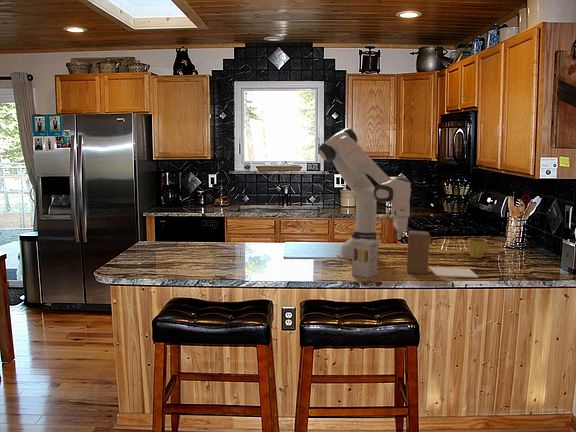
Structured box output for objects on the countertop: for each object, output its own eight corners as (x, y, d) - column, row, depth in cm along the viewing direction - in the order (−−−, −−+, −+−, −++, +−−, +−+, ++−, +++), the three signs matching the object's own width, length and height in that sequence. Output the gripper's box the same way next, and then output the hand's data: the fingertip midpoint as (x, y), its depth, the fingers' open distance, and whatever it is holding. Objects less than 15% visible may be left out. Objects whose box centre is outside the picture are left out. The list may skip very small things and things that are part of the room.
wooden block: (427, 275, 278) (430, 234, 275) (406, 273, 280) (408, 233, 277) (426, 270, 287) (429, 231, 284) (406, 268, 289) (408, 230, 286)
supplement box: (350, 275, 275) (352, 240, 272) (359, 271, 282) (361, 237, 280) (368, 278, 269) (370, 243, 267) (377, 274, 277) (379, 240, 274)
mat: (436, 276, 275) (436, 275, 275) (429, 268, 291) (429, 267, 291) (478, 277, 275) (478, 276, 275) (469, 269, 290) (469, 268, 290)
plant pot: (479, 259, 315) (480, 242, 314) (463, 256, 323) (464, 239, 322) (489, 257, 322) (491, 240, 321) (473, 253, 330) (474, 237, 328)
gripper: (391, 207, 290) (389, 234, 292) (396, 213, 269) (395, 242, 272) (403, 208, 289) (402, 234, 291) (410, 213, 269) (408, 242, 271)
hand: (398, 238), depth 281 cm, fingers closed
